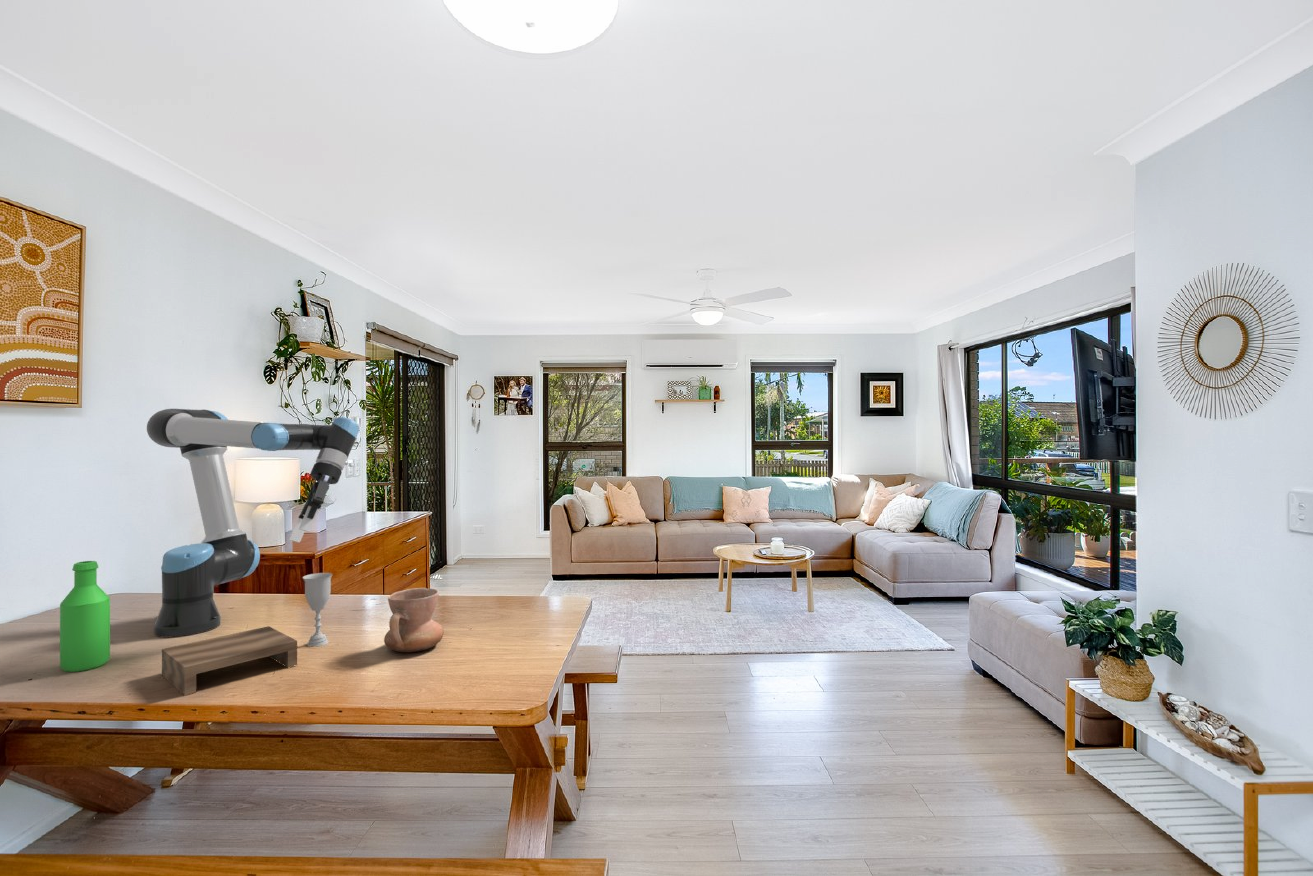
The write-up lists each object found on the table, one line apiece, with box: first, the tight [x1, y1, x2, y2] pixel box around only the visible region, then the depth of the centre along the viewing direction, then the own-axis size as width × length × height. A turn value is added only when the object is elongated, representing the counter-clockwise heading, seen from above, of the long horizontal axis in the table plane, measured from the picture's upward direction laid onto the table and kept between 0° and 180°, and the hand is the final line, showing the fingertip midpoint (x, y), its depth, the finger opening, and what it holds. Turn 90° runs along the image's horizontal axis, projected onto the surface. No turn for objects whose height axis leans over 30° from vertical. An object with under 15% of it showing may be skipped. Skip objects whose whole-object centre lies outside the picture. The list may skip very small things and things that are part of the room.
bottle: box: [59, 560, 111, 673], centre depth 147 cm, size 9×9×25 cm
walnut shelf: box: [161, 625, 298, 696], centre depth 144 cm, size 18×22×6 cm
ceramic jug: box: [383, 587, 445, 653], centre depth 160 cm, size 18×14×14 cm
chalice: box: [302, 572, 333, 647], centre depth 163 cm, size 7×7×18 cm
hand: (299, 536), depth 167 cm, fingers open, 13 cm apart
